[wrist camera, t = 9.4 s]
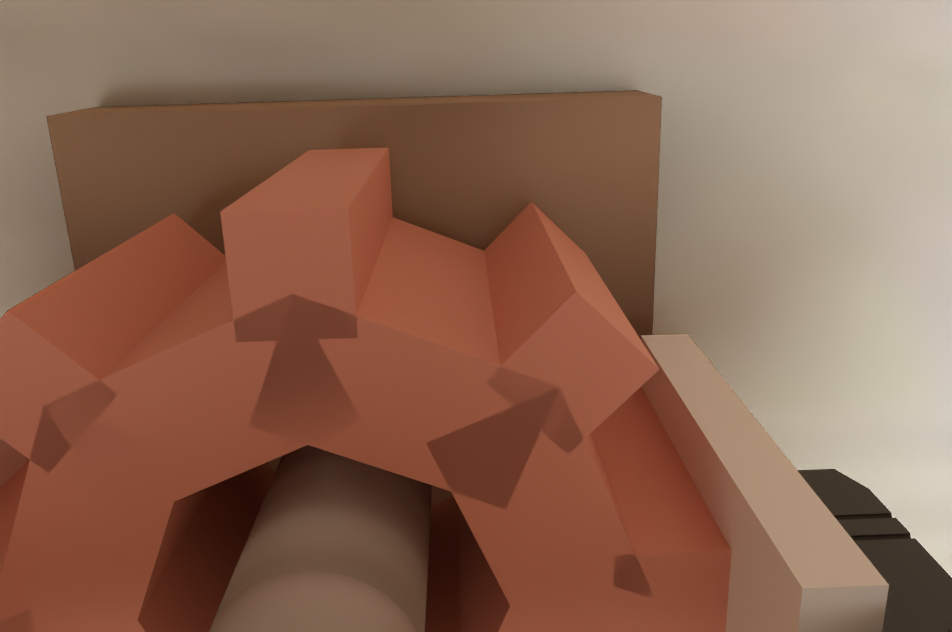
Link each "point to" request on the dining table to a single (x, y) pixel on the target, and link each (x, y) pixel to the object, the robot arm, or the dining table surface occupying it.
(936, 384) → the dining table surface
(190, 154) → the gear board
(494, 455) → the red gear
